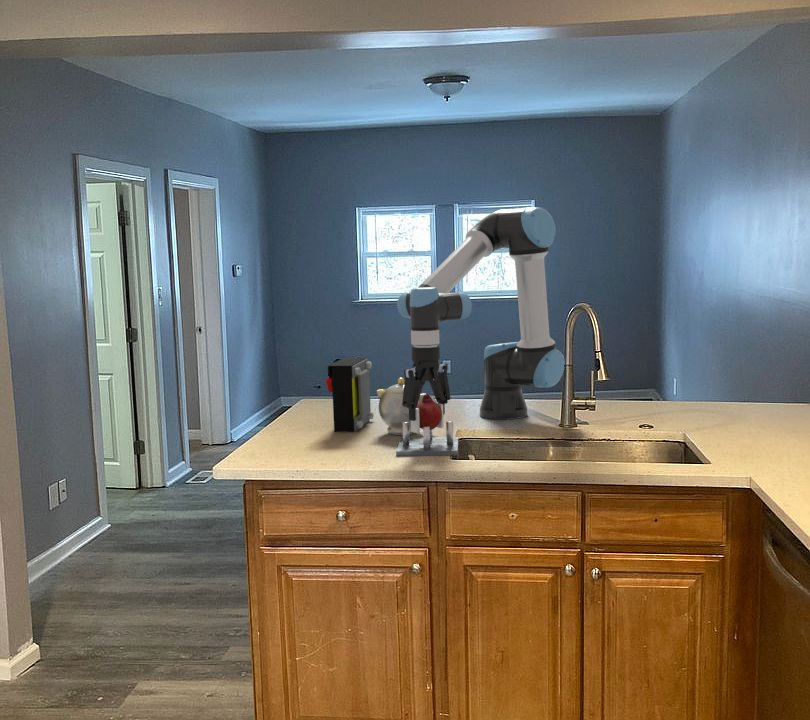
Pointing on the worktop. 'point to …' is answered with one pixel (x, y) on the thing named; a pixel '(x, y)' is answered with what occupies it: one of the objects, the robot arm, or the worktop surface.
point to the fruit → (429, 412)
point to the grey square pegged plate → (427, 443)
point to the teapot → (395, 408)
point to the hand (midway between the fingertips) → (427, 429)
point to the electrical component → (350, 393)
